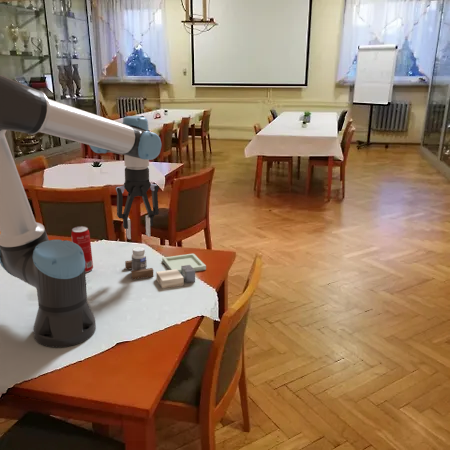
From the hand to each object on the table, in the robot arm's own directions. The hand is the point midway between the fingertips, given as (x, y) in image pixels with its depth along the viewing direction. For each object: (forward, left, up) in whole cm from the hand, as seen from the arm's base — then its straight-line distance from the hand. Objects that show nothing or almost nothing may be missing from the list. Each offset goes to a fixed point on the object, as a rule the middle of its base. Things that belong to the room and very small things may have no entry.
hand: (138, 236), depth 149 cm
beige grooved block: (-11, -7, -13) cm, 19 cm away
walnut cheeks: (0, 0, -13) cm, 13 cm away
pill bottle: (0, 0, -13) cm, 13 cm away
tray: (0, -16, -13) cm, 21 cm away
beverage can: (+8, +17, -13) cm, 23 cm away
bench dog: (-11, -13, -13) cm, 22 cm away
